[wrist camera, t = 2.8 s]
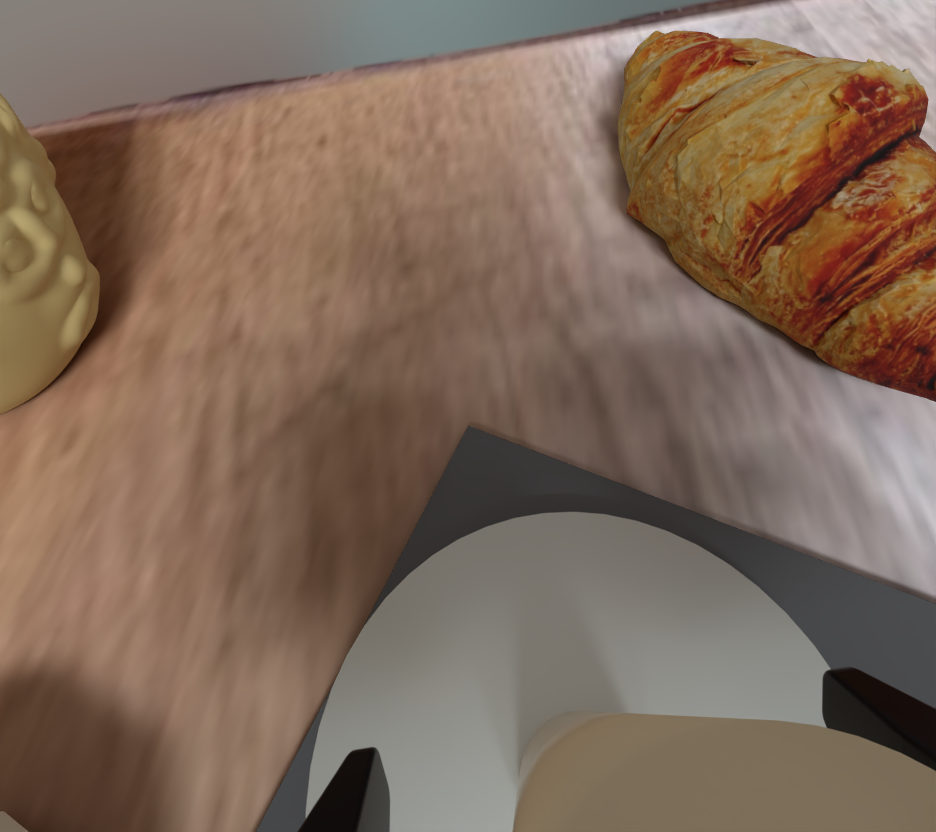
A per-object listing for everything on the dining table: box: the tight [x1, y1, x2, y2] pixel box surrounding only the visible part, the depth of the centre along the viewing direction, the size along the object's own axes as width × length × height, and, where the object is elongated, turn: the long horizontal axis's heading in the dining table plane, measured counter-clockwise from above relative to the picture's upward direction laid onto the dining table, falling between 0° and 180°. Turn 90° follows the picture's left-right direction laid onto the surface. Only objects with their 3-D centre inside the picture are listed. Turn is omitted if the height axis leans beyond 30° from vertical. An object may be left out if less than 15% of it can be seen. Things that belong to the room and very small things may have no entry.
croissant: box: [617, 31, 936, 402], centre depth 20 cm, size 21×10×8 cm, turn 18°
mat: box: [256, 426, 936, 832], centre depth 14 cm, size 15×15×1 cm
